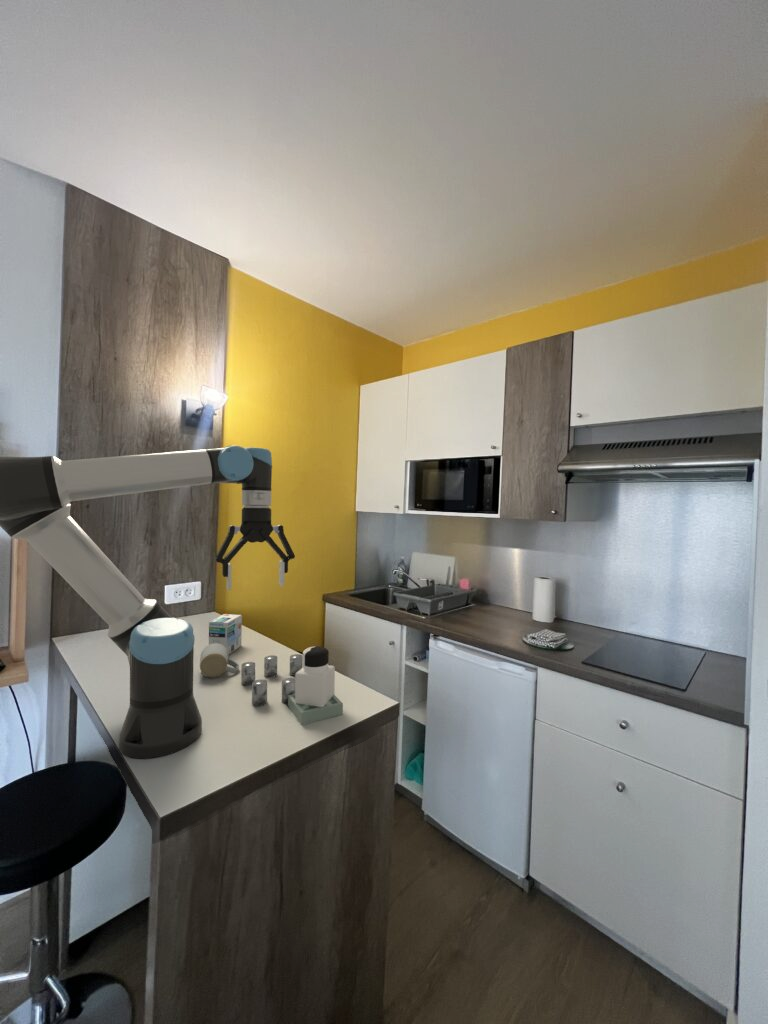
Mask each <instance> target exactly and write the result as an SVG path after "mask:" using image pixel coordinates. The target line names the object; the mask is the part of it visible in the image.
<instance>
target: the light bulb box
mask: <svg viewBox="0 0 768 1024" xmlns="http://www.w3.org/2000/svg"><path fill="white" fill-rule="evenodd" d="M242 625H243V615H242V614H232V613H231V614H228V613H224V614H221V615H220V616H218V617H216V618H214V619H212V620H210V621H208V645H210V644H213V643H218V644H221V645H223V646H224V647H225V648H226V649H227V651H228V656H229V655H230V654H232V653H233V652H234V651H235V650H237V649H238V648H240V647H242V637H243V636H242V633H243V632H242V631H243V630H242V627H243V626H242Z"/></svg>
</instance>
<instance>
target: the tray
mask: <svg viewBox="0 0 768 1024" xmlns="http://www.w3.org/2000/svg"><path fill="white" fill-rule="evenodd" d="M287 706H288V708H289V710H290V711H291V713H292V714H293V715H294V717H295V718H296V720H297V721H298V723H299V724H300V725H302V726H303V725H306V724H311V723H314V722H319V721H322V720H325V719H330V718H334V717H338V716H342V715H344V713H343V711H344V710H343V709H344V703H343V702H342V701H341V700H340V698H338V697H337V696H336V694H334V695H333V696H332V698H331V699H330V700H329V701H328V702H327V703H326V704H325V705H324V707H316V706H309V705H303V704H296V703H295V694H292V695H288V704H287Z"/></svg>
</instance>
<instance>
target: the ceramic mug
mask: <svg viewBox="0 0 768 1024" xmlns="http://www.w3.org/2000/svg"><path fill="white" fill-rule="evenodd" d="M239 669H240V665H239V663H238V662H236V661H235V660H232V658H231V659H230V658H229V655H228V651H227V649H226V648H225V647H224V646H223V645H221V644H218V643H213V644H210V645H209V644H207V645H206V646H205V647H204V648H203V649H202V651H201V652H200V658H199V670H200V672H201V674H202V675H203V676H205V677H206V678H212V679H213V678H218V677H219V676H221V675H222V674H224V672H226V673H228V674H229V673H230V674H236V673H238V671H239Z"/></svg>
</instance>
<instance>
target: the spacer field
mask: <svg viewBox="0 0 768 1024" xmlns="http://www.w3.org/2000/svg"><path fill="white" fill-rule="evenodd" d="M263 658H264V665H263V674H264V675H263V676H264V677H265V678H267V677H272V678H275V677H277V676H278V656H277V655H267V656H264V657H263ZM302 668H303V654H300V653H298V654H297V653H296V654H291V655H290V656H289V675H290V676H291V675H293V676H292V677H287V678H283V679H282V680H281V704H283V705H288V695H292V694H295V674H296V673H297V672H298V671H299V670H301V669H302ZM240 674H241V675H240V678H241V683H240V684H241V685H242V686H251V705H252V706H254V707H261V706H264V705H266V704H267V703H268V680H267V679H256V662H254V661H247V662H243V663H242V664H241V673H240ZM276 675H277V676H276ZM274 676H275V677H274Z"/></svg>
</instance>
